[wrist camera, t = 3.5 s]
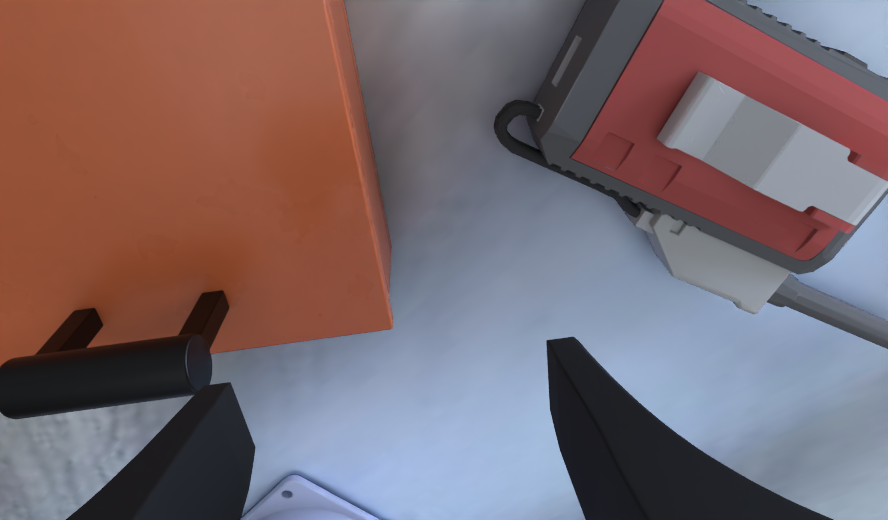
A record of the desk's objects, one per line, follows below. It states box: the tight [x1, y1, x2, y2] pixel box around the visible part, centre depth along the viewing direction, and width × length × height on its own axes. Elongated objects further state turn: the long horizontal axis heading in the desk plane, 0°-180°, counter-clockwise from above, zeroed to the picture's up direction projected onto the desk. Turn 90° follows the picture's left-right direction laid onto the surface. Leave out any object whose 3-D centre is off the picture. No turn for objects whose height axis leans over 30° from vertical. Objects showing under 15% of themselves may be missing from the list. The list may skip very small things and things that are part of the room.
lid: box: [0, 0, 393, 419], centre depth 15 cm, size 12×14×5 cm
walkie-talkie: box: [494, 0, 888, 349], centre depth 20 cm, size 9×4×20 cm
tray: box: [328, 0, 392, 294], centre depth 19 cm, size 11×14×4 cm
